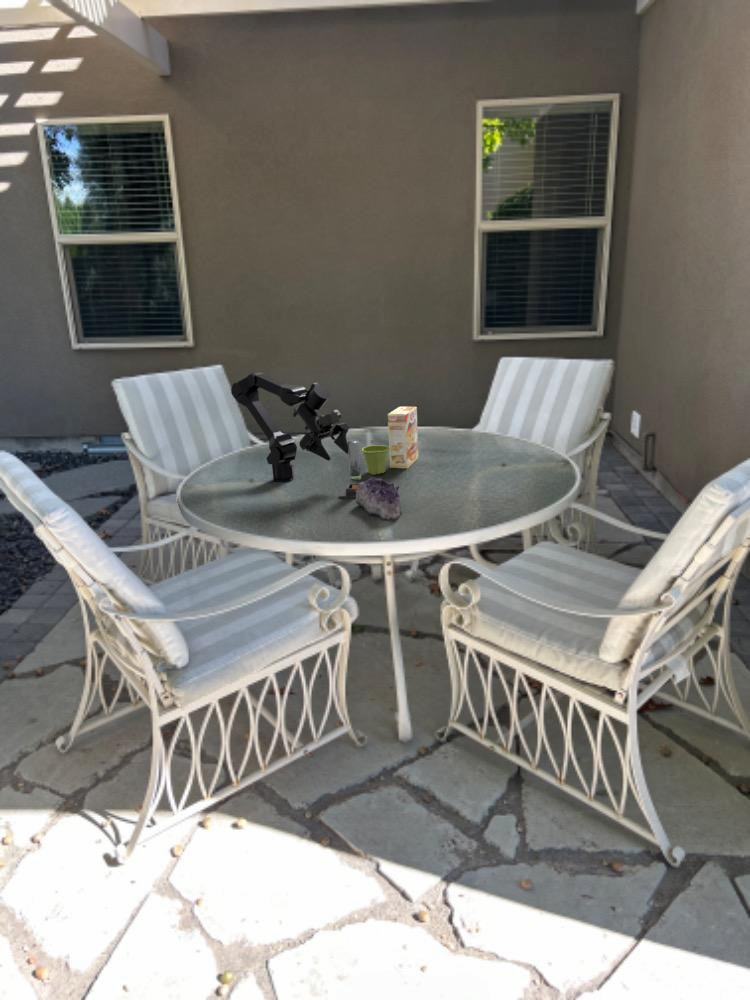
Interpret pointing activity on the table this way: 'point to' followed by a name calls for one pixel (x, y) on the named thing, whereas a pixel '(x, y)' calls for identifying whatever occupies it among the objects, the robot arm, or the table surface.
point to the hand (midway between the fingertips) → (339, 456)
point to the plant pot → (375, 458)
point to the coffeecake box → (403, 437)
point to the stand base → (348, 491)
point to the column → (354, 460)
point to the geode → (379, 498)
